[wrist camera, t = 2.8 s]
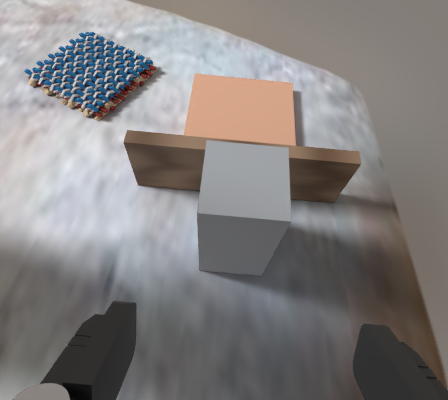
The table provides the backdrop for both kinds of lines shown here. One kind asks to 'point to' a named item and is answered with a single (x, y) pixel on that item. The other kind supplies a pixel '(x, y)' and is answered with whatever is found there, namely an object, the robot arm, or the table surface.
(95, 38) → the woven mat
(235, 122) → the terracotta tile
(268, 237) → the plain grey block
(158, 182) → the walnut screen
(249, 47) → the table surface
